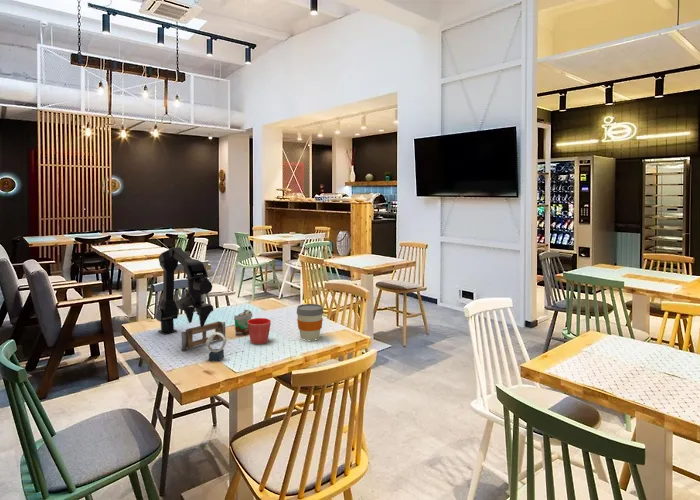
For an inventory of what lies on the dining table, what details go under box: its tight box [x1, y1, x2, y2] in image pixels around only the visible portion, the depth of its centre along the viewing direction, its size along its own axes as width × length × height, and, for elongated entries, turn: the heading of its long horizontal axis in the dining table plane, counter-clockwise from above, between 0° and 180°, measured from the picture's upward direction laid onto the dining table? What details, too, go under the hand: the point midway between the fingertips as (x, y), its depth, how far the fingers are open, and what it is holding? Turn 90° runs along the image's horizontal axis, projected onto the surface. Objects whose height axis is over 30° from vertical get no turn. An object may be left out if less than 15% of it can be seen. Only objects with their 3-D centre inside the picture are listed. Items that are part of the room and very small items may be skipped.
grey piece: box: [180, 321, 227, 352], centre depth 206 cm, size 2×22×8 cm, turn 141°
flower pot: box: [247, 317, 272, 345], centre depth 211 cm, size 11×11×10 cm
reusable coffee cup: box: [296, 303, 324, 341], centre depth 217 cm, size 12×13×15 cm
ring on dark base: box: [205, 332, 227, 362], centre depth 188 cm, size 6×8×11 cm
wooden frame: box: [185, 321, 222, 349], centre depth 206 cm, size 2×17×8 cm, turn 141°
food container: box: [233, 309, 253, 336], centre depth 223 cm, size 12×6×10 cm, turn 168°
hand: (195, 324), depth 202 cm, fingers open, 9 cm apart
